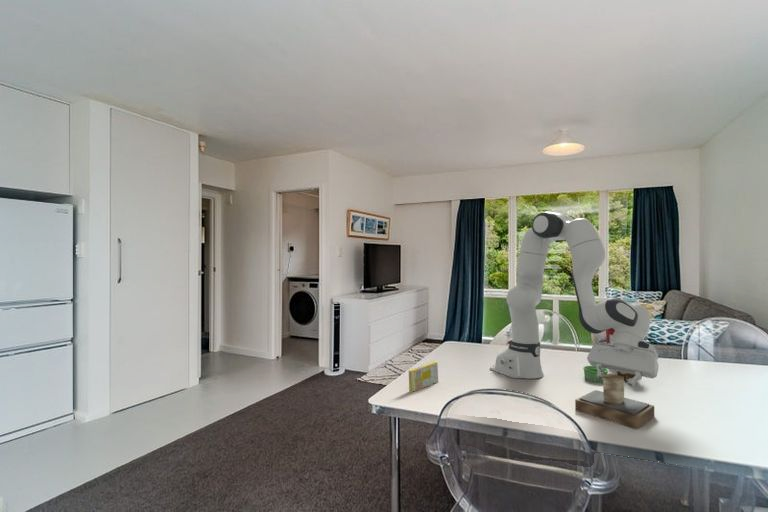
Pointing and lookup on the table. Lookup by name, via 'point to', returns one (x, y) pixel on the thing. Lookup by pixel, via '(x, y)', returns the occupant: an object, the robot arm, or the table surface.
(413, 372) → the candy box
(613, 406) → the brown flat block
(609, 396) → the tan cylinder
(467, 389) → the table surface
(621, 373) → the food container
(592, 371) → the ramekin
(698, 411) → the table surface
